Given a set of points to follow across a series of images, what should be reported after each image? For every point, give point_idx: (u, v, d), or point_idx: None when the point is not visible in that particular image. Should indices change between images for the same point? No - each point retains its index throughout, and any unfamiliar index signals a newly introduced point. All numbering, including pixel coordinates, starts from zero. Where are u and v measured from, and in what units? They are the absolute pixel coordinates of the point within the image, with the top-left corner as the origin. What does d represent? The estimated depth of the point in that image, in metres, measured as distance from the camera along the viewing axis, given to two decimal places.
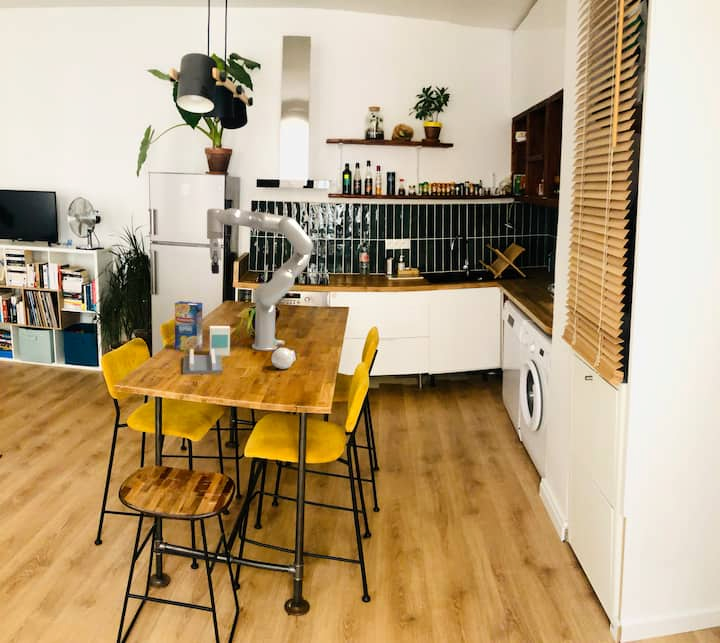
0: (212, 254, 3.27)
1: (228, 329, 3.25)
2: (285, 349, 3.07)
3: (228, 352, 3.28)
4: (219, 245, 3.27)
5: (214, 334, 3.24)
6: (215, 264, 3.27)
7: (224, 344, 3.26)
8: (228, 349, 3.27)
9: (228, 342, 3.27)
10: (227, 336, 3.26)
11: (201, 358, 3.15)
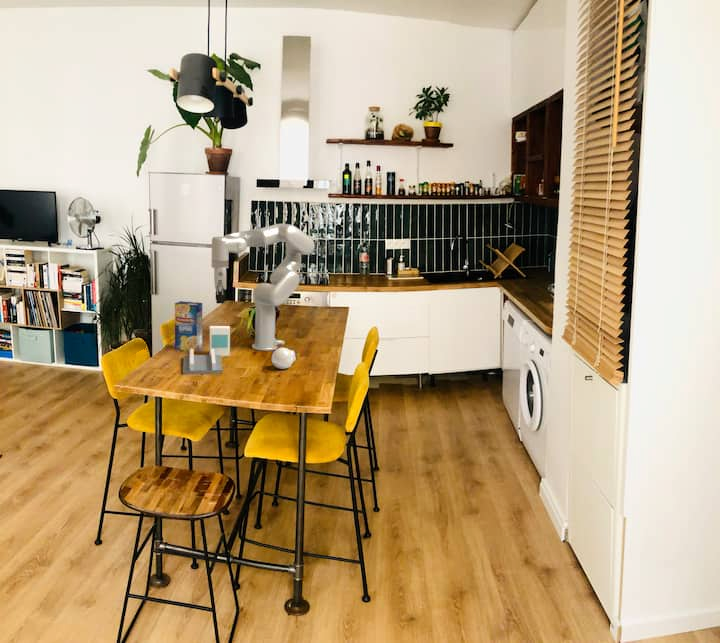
0: (217, 283, 3.18)
1: (228, 329, 3.25)
2: (285, 349, 3.07)
3: (228, 352, 3.28)
4: (224, 274, 3.18)
5: (214, 334, 3.24)
6: (220, 294, 3.18)
7: (224, 344, 3.26)
8: (228, 349, 3.27)
9: (228, 342, 3.27)
10: (227, 336, 3.26)
11: (201, 358, 3.15)
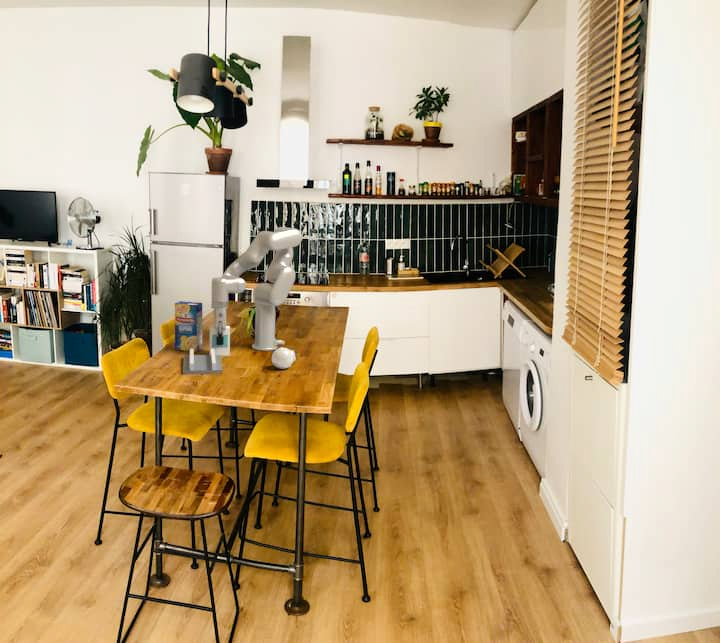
0: (217, 324, 3.21)
1: (228, 329, 3.26)
2: (285, 349, 3.07)
3: (228, 352, 3.28)
4: (224, 315, 3.22)
5: (214, 334, 3.25)
6: (220, 336, 3.24)
7: (224, 343, 3.27)
8: (228, 349, 3.27)
9: (227, 341, 3.27)
10: (227, 335, 3.26)
11: (201, 358, 3.15)
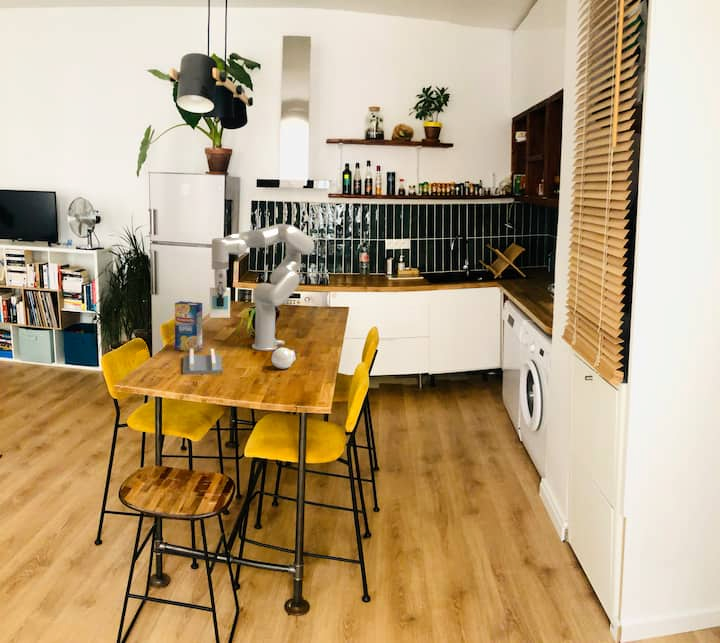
0: (217, 285, 3.18)
1: (228, 290, 3.22)
2: (285, 349, 3.07)
3: (228, 314, 3.24)
4: (224, 276, 3.18)
5: (214, 295, 3.21)
6: (220, 297, 3.20)
7: (225, 305, 3.23)
8: (228, 311, 3.24)
9: (228, 303, 3.23)
10: (227, 297, 3.23)
11: (201, 358, 3.15)
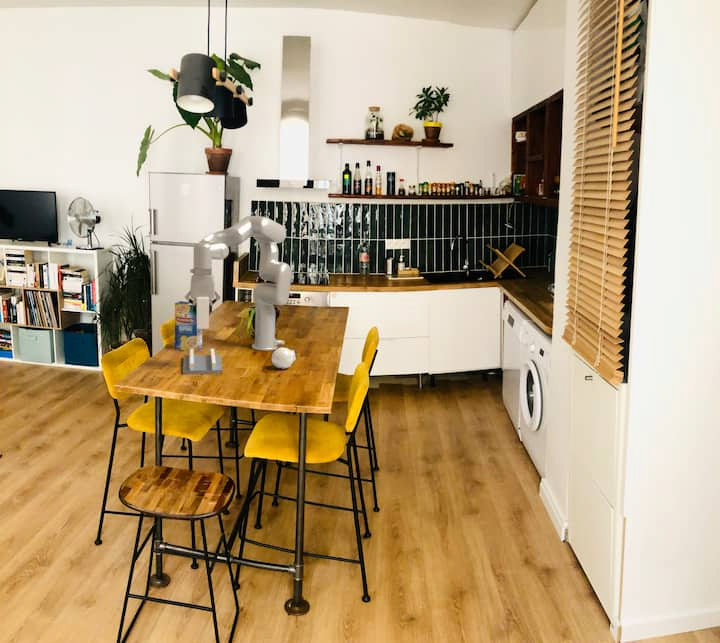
0: None
1: None
2: (285, 349, 3.07)
3: None
4: (191, 282, 2.99)
5: (196, 302, 3.05)
6: (192, 304, 3.02)
7: None
8: None
9: (196, 313, 3.00)
10: (196, 306, 3.00)
11: (201, 358, 3.15)
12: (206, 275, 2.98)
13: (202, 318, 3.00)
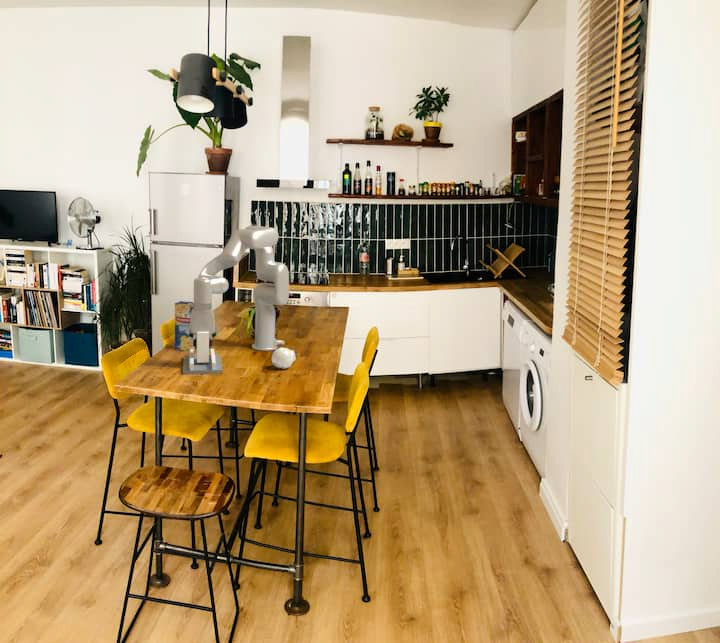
0: None
1: None
2: (285, 349, 3.08)
3: None
4: (191, 316, 3.02)
5: None
6: None
7: None
8: (197, 355, 3.03)
9: (196, 347, 3.03)
10: (196, 340, 3.03)
11: None
12: (206, 310, 3.01)
13: (202, 352, 3.03)
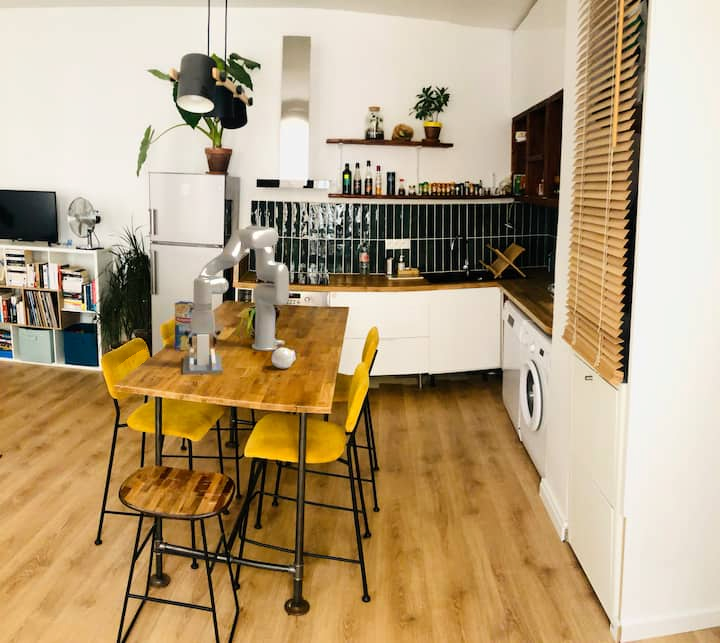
0: None
1: (197, 336, 3.02)
2: (285, 349, 3.08)
3: (197, 361, 3.04)
4: (191, 317, 3.02)
5: (196, 338, 3.08)
6: None
7: None
8: (197, 358, 3.04)
9: (197, 349, 3.03)
10: (197, 343, 3.03)
11: None
12: (206, 310, 3.01)
13: (203, 354, 3.03)
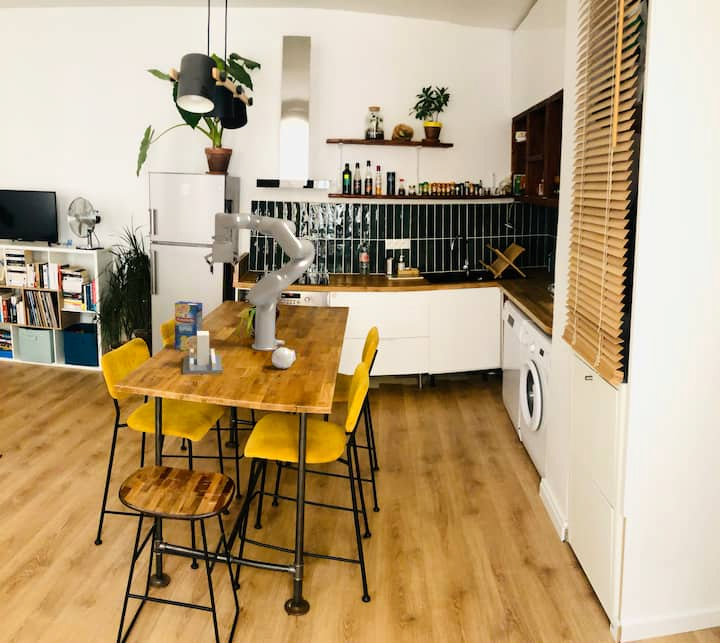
0: None
1: (197, 336, 3.02)
2: (285, 349, 3.08)
3: (197, 361, 3.04)
4: (212, 247, 3.41)
5: (196, 338, 3.08)
6: (209, 264, 3.44)
7: None
8: (197, 358, 3.04)
9: (197, 349, 3.03)
10: (197, 343, 3.03)
11: None
12: (226, 241, 3.40)
13: (203, 354, 3.03)
